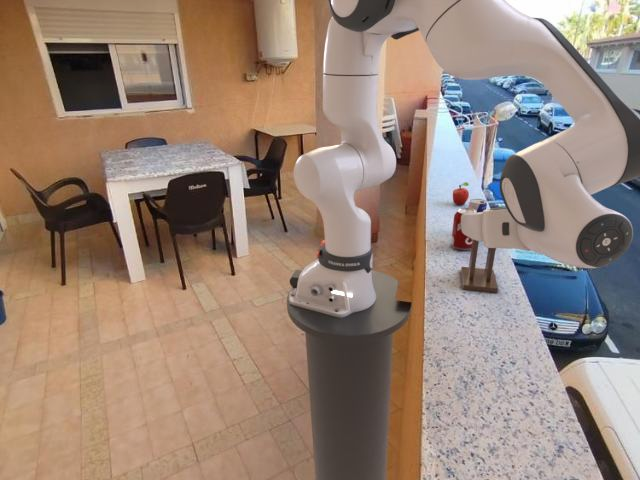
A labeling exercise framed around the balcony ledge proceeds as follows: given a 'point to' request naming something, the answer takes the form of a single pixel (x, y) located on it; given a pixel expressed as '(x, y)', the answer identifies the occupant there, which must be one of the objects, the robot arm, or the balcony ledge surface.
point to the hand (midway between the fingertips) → (503, 215)
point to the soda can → (460, 231)
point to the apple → (460, 195)
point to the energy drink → (478, 205)
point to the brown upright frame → (479, 272)
